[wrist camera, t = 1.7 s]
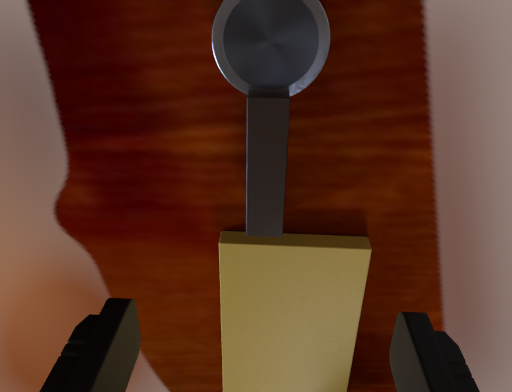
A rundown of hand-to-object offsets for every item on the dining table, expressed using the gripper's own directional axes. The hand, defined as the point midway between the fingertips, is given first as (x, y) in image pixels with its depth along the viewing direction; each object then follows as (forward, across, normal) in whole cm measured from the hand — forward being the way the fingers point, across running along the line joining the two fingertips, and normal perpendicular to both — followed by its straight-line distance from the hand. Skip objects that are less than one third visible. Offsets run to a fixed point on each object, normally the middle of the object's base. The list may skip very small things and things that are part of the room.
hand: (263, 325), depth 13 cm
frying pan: (+15, 0, -2) cm, 15 cm away
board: (+15, -2, +14) cm, 21 cm away
